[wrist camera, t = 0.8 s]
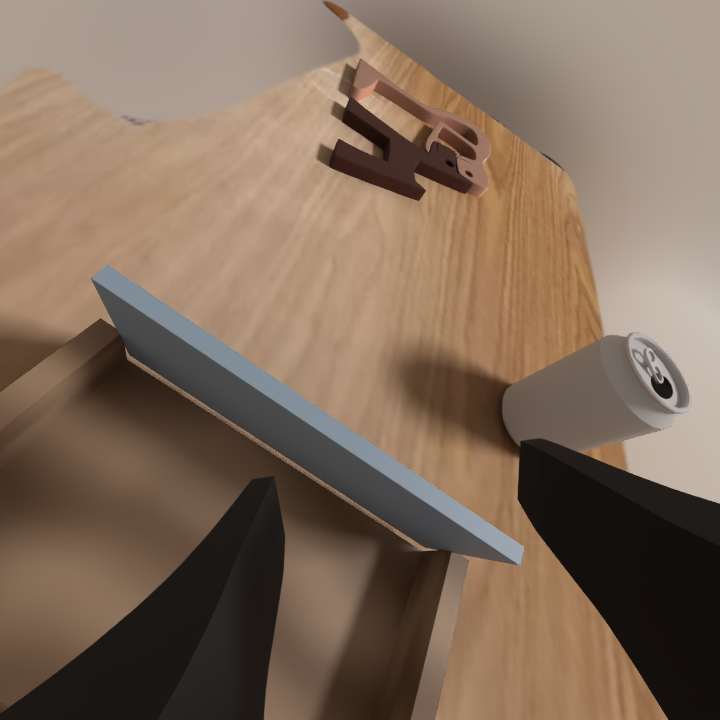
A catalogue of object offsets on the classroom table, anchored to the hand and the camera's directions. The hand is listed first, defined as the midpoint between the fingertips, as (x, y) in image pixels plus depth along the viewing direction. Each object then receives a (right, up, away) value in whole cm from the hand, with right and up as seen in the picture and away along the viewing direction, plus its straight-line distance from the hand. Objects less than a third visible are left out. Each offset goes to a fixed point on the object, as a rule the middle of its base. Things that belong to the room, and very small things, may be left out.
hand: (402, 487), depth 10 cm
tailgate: (-6, -2, +11) cm, 13 cm away
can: (+14, -2, +24) cm, 28 cm away
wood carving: (+7, +32, +41) cm, 52 cm away
